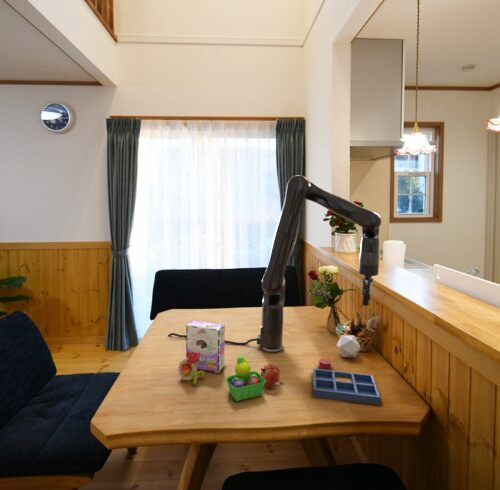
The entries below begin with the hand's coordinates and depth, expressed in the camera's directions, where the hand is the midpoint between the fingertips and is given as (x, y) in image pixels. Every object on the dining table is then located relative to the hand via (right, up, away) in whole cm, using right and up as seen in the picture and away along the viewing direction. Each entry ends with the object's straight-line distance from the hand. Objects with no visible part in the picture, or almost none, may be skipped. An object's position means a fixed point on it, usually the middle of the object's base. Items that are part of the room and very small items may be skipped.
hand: (366, 302), depth 138 cm
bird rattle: (-67, -24, -17) cm, 73 cm away
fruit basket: (-48, -25, -23) cm, 59 cm away
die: (-6, -24, +6) cm, 25 cm away
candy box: (-64, -23, -6) cm, 68 cm away
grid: (-14, -25, -19) cm, 34 cm away
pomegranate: (-39, -24, -18) cm, 49 cm away
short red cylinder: (-18, -24, -5) cm, 30 cm away
